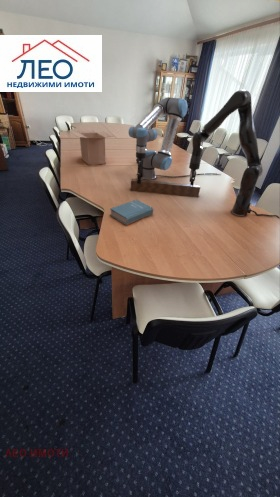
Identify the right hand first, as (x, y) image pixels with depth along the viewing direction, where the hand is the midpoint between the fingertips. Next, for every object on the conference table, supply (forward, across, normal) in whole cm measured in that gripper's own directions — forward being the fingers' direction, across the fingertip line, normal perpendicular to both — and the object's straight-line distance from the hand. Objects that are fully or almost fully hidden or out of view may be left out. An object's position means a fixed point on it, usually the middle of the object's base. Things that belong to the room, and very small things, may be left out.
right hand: (191, 183), depth 172 cm
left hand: (+1, +1, +40) cm, 40 cm away
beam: (+9, 0, +20) cm, 22 cm away
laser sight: (+8, +75, +41) cm, 86 cm away
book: (+9, -44, +40) cm, 61 cm away
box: (+8, +68, +98) cm, 119 cm away
